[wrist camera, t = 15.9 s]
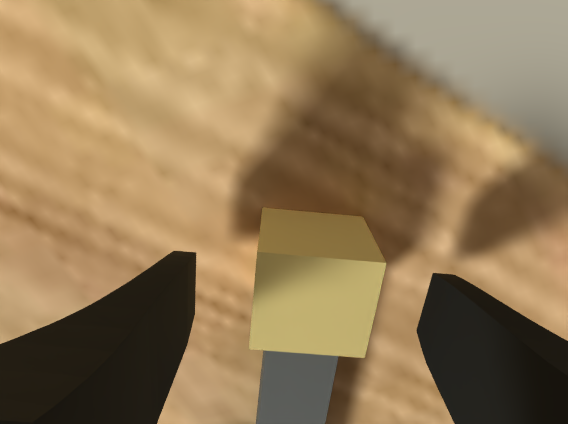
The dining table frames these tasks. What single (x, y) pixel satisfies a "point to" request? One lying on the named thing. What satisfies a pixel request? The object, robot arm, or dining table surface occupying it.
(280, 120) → the dining table surface
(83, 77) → the dining table surface
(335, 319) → the plug
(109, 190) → the dining table surface
